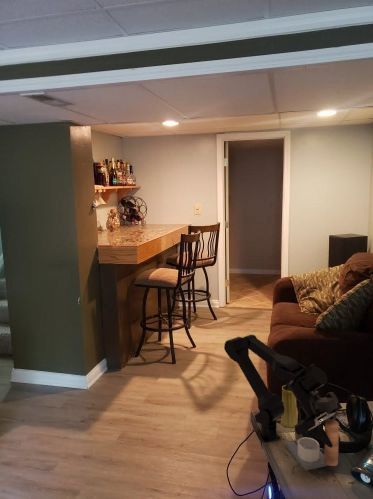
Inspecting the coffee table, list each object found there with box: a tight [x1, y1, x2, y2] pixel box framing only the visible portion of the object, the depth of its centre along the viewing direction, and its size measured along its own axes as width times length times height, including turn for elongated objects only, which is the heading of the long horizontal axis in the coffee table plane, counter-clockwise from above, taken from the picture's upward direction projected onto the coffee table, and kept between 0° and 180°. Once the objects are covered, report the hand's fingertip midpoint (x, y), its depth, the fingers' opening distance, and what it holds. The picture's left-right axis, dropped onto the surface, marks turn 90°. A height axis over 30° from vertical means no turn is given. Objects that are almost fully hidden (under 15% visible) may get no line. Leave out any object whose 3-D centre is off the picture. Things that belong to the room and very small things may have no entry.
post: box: [323, 419, 340, 467], centre depth 121 cm, size 4×4×13 cm
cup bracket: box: [284, 436, 330, 472], centre depth 131 cm, size 13×9×5 cm
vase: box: [280, 384, 298, 428], centre depth 149 cm, size 6×6×14 cm
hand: (335, 444), depth 120 cm, fingers closed on post, 4 cm apart
